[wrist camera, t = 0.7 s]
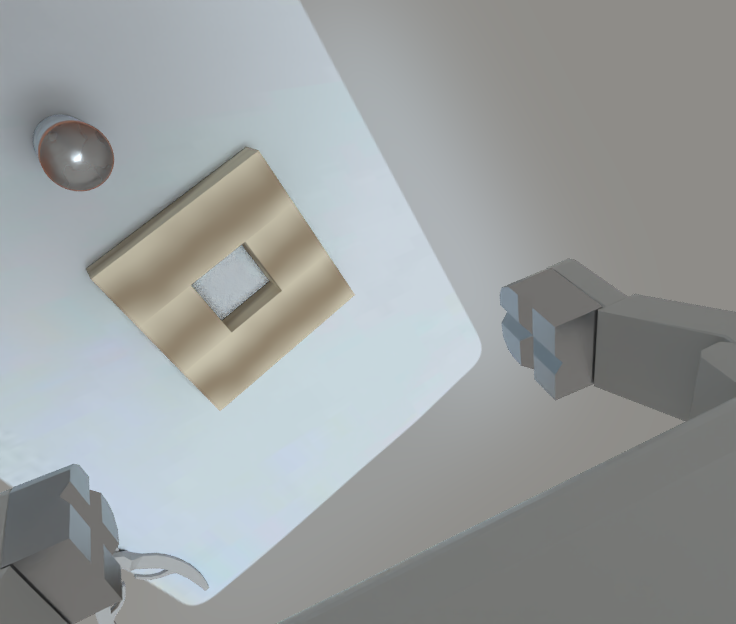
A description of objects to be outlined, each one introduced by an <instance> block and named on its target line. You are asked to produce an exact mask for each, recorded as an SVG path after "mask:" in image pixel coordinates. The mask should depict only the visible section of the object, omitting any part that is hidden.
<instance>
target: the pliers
mask: <svg viewBox="0 0 736 624" xmlns="http://www.w3.org/2000/svg"><path fill="white" fill-rule="evenodd" d="M112 556H113V557H114V558H115V559H116V561H117V562H118V563H119V565H120V566H121V568H122V569H125V570H127V571H132V570H134V569H148V568H161V569H165V570H163V571H161V572H159V573H155V574H151V575H142V574H134V576H135V579H142V580H152V579H157V578H161V577H164V576H166V575H169V574H173V573H178V574H180V575H182V576H184V577H186V578H188V579H190V580H191V581H193V582H194V583H196V584H197V585H199V586H200V587H201V588H202V589H204V590H205V591H206V590H207V589H208V588H209V586H208V584H207V582H206V580H205V579H204V577H203V576H202V574H201V573H200V572H199V571H198V570H197V569H196V568H194V567H193V566H192V565H190V564H189V563H187V562H185V561H183V560H181V559H179V558H177V557H174V556H170V555H167V554H160V553H146V554H140V553H132V552H129V551H127V550H126V551H122V552H120V550H119V548H118V546H117V548H116V550H115V552H114V554H113V555H112ZM121 583H122V599H123V600H122V601H120V602H118V603H115V604H114V605H113V606H112V607H111V608H110V606H109V607H107V608H105V609H103V610H101V611H99V612H97V613H95V614H96V618H97V621H98V623H99V624H116V622H115V620H114V619H115V616H116V615H117V613H118V612H119V610H120V609H121V607H122V605H123V602H124V600H125V593H126V589H125V582H124V581H123V582H121Z"/></svg>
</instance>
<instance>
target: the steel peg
mask: <svg viewBox="0 0 736 624" xmlns="http://www.w3.org/2000/svg"><path fill="white" fill-rule="evenodd" d="M33 146H34V149H35V152H36V154H37V156H38V158H39V161H40V163H41V166H42V168H43V170H44V171H45V173H46V174H47V176H48V177H49V178H50V179H51V180H52V181H53V182H55V183H56V184H57V185H59V186H61V187H63V188H65V189H69V190H73V191H87V190H91V189H94V188H96V187H98V186H100V185H101V184H103V183H104V182H105V181H106V180H107V179H108V177H109V176H110V174H111V172H112V169H113V165H114V154H113V150H112V147H111V145H110V143H109V141H108V140H107V138H106V137H105V136H104V135H103V134H102V133H101V132H100V131H99V130H97V129H96V128H94V127H93V126H91V125H89V124H87V123H84V122H82V121H80V120H78V119H76V118H74V117H71V116H68V115H53V116H50V117H47V118H45V119H44V120H42V121H41V122H40V123H39V124H38V126H37V127H36V129H35V131H34V134H33Z"/></svg>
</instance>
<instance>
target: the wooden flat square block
mask: <svg viewBox="0 0 736 624" xmlns="http://www.w3.org/2000/svg"><path fill="white" fill-rule="evenodd" d="M240 245H242V246H243V247H244V248H245V249H246V251H247V252H248V253H249V255H250V256H251V257H252V259H253V260H254V261H255V263H256V264H257V265H258V267H259V268H260V269H261V271H262V272H263V273H264V274H265V276H266V277H267V278H268V280H269V282H268V283H267V284H266V285H264V286H263V287H262V288H261V289H260V290H258V291H257V292H256V293H255V294H254V295H252V296H251V297H250V298H249V299H248V300H246V301H245V302H244V303H243V304H241V305H240V306H239V307H238V308H237V309H235V310H234V311H233V312H232V313H231V314H229V315H228V316H227V317H226V318H224V319H223V320H222V321H221V320H220V319H219V317H218V316H217V315H216V314H215V313H214V312H213V310H212V309H211V308H210V307H209V306H208V305H207V303H206V302H205V301H204V300H203V299H202V298H201V296H200V295H199V294H198V293H197V292H196V291H195V289H194V288H193V287H192V286H191V285H192V284H193V283H194V282H195V281H197V280H198V279H199V278H200V277H202V276H203V275H204V274H205V273H207V272H208V271H209V270H210V269H212V268H213V267H214V266H215V265H217V264H218V263H219V262H220V261H222V260H223V259H224V258H225V257H227V256H228V255H229V254H230V253H232V252H233V251H234V250H235V249H237V248H238V247H239V246H240ZM87 272H88V274H89V276H90V278H91V280H92V281H93V282H94V283H95V284H96V285H97V286H98V287H99V288H100V289H101V290H102V291H103V292H104V293H105V294H106V295H107V296H108V297H109V298H110V299H111V300H112V301H113V302H114V303H115V304H116V305H117V306H118V307H119V308H120V309H121V310H122V311H123V313H124V314H125V315H126V316H127V317H128V318H129V319H130V320H131V321H132V322H133V323H134V324H135V325H136V326H137V327H138V328H139V329H140V330H141V331H142V332H143V333H144V334H145V335H146V336H147V337H148V338H149V339H150V340H151V341H152V342H153V343H154V344H155V345H156V346H157V347H158V348H159V349H160V350H161V351H162V352H163V353H164V354H165V355H166V356H167V357H168V359H169V360H170V361H171V362H172V363H173V364H174V365H175V366H176V367H177V368H178V369H179V370H180V371H181V372H182V373H183V374H184V375H185V376H186V377H187V378H188V379H189V380H190V381H191V382H192V383H193V384H194V385H195V386H196V387H197V388H198V389H199V390H200V391H201V392H202V393H203V394H204V395H205V396H206V397H207V398H208V399H209V400H210V401H211V402H212V404H213V405H214V406H215V407H216V408H217V409H218V410H219V411H221V410H222V409H223V408H224V407H225V406H227V405H228V404H229V403H230V402H231V401H232V400H234V399H235V398H236V397H237V396H238V395H239V394H241V393H242V392H243V391H244V390H245V389H246V388H248V387H249V386H250V385H251V384H252V383H253V382H255V381H256V380H257V379H258V378H259V377H260V376H261V375H263V374H264V373H265V372H266V371H267V370H268V369H270V368H271V367H272V366H273V365H274V364H275V363H277V362H278V361H279V360H280V359H281V358H282V357H284V356H285V355H286V354H287V353H288V352H289V351H290V350H292V349H293V348H294V347H295V346H296V345H297V344H299V343H300V342H301V341H302V340H303V339H304V338H306V337H307V336H308V335H309V334H310V333H311V332H313V331H314V330H315V329H316V328H317V327H318V326H320V325H321V324H322V323H323V322H324V321H325V320H326V319H328V318H329V317H330V316H331V315H332V314H333V313H335V312H336V311H337V310H338V309H339V308H340V307H342V306H343V305H344V304H345V303H346V302H347V301H349V300H350V299H351V298H352V297H353V296H354V295H355V294H354V293H353V291H352V290H351V288H350V287H349V285H348V284H347V282H346V281H345V279H344V278H343V276H342V275H341V273H340V272H339V270H338V269H337V267H336V266H335V264H334V263H333V261H332V260H331V258H330V257H329V255H328V254H327V252H326V251H325V249H324V248H323V246H322V245H321V243H320V242H319V240H318V239H317V237H316V236H315V234H314V233H313V231H312V230H311V228H310V227H309V225H308V224H307V222H306V221H305V219H304V218H303V216H302V215H301V213H300V212H299V210H298V209H297V207H296V206H295V204H294V203H293V201H292V200H291V198H290V197H289V195H288V194H287V192H286V191H285V189H284V188H283V186H282V185H281V183H280V182H279V180H278V179H277V177H276V176H275V174H274V173H273V171H272V170H271V168H270V167H269V165H268V164H267V162H266V161H265V159H264V158H263V156H262V155H261V153H260V152H259V151H258V150H255V149H251V148H248V147H246V148H244V149H243V150H242V151H240V152H239V153H238V154H236V155H235V156H234V157H232V158H231V159H230V160H228V161H227V162H226V163H224V164H223V165H222V166H221V167H219V168H218V169H217V170H215V171H214V172H213V173H211V174H210V175H209V176H207V177H206V178H205V179H203V180H202V181H201V182H200V183H198V184H197V185H196V186H194V187H193V188H192V189H190V190H189V191H188V192H186V193H185V194H184V195H182V196H181V197H180V198H179V199H177V200H176V201H175V202H173V203H172V204H171V205H169V206H168V207H167V208H165V209H164V210H163V211H161V212H160V213H159V214H158V215H156V216H155V217H154V218H152V219H151V220H150V221H148V222H147V223H146V224H144V225H143V226H142V227H140V228H139V229H138V230H137V231H135V232H134V233H133V234H131V235H130V236H129V237H127V238H126V239H125V240H123V241H122V242H121V243H119V244H118V245H117V246H116V247H114V248H113V249H112V250H110V251H109V252H108V253H106V254H105V255H104V256H102V257H101V258H100V259H98V260H97V261H96V262H95V263H93V264H92V265H91V266H89V267H88V268H87Z"/></svg>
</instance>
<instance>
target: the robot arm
mask: <svg viewBox="0 0 736 624" xmlns="http://www.w3.org/2000/svg"><path fill="white" fill-rule="evenodd" d="M500 305H501V306H502V307H503V308H504V309H505V310H506V311H507V313H506V316H505V317H504V319H503V321H502V331H503V337H504V340H505V342H506V345H507V348H508V350H509V351H510V353H511V354H512V356H513V357H514V358H515V359H516V361H517V362H518V363H519V364H520V365H521V366H525V367H528V368H532V369H534V378H535V380H536V381H537V382H538V383H539V384H540V385H541V386H542V387H543V388H544V390H545V391H546V392H547V393H548V394H550V396H551V397H553V399H554V400H557V399H560V398H562V397H564V396H567V395H569V394H571V393H574V392H576V391H578V390H581V389H583V388H585V387H588V386H590V385H592V384H594V386H595V387H598V388H600V389H603V390H606V391H608V392H611V393H613V394H616V395H618V396H621V397H624V398H626V399H629V400H632V401H634V402H637V403H639V404H642V405H644V406H647V407H650V408H652V409H655V410H657V411H660V412H663V413H665V414H668V415H670V416H673V417H675V418H678V419H681V420H683V421H686V422H684V423H682V424H680V425H678V426H676V427H674V428H672V429H670V430H668V431H666V432H664V433H662V434H660V435H658V436H656V437H654V438H652V439H650V440H648V441H645V442H643V443H641V444H639V445H637V446H635V447H633V448H631V449H629V450H627V451H625V452H623V453H621V454H619V455H617V456H615V457H613V458H611V459H609V460H607V461H605V462H603V463H601V464H599V465H597V466H595V467H593V468H591V469H589V470H587V471H584V472H582V473H580V474H578V475H576V476H574V477H572V478H570V479H568V480H566V481H564V482H562V483H560V484H558V485H556V486H554V487H552V488H550V489H548V490H546V491H544V492H542V493H540V494H538V495H536V496H534V497H532V498H530V499H528V500H526V501H524V502H522V503H520V504H518V505H516V506H514V507H512V508H509V509H508V510H505V511H503V512H501V513H499V514H497V515H495V516H493V517H491V518H489V519H487V520H485V521H483V522H481V523H479V524H477V525H475V526H473V527H471V528H469V529H467V530H465V531H463V532H461V533H459V534H457V535H455V536H453V537H451V538H449V539H447V540H445V541H443V542H441V543H438V544H436V545H434V546H432V547H430V548H428V549H426V550H424V551H422V552H420V553H418V554H416V555H414V556H412V557H410V558H408V559H406V560H404V561H402V562H400V563H398V564H396V565H394V566H392V567H390V568H388V569H386V570H384V571H382V572H380V573H378V574H376V575H373V576H372V577H369V578H367V579H366V580H363V581H361V582H359V583H358V584H355V585H353V586H351V587H349V588H347V589H345V590H343V591H341V592H339V593H337V594H335V595H333V596H331V597H329V598H327V599H325V600H323V601H321V602H319V603H317V604H315V605H313V606H310V607H308V608H306V609H304V610H303V611H300V612H298V613H296V614H294V615H292V616H290V617H288V618H286V619H284V620H282V621H280V622H278V623H276V624H736V312H733V311H728V310H721V309H716V308H711V307H705V306H700V305H694V304H688V303H682V302H677V301H671V300H666V299H660V298H655V297H649V296H643V295H638V294H634V295H631V296H629V297H628V296H626V295H625V294H623V293H622V292H621V291H619V290H618V289H616V288H615V287H614V286H612V285H611V284H609V283H608V282H606V281H605V280H603V279H602V278H601V277H599V276H598V275H596V274H595V273H593V272H592V271H591V270H589V269H588V268H586V267H585V266H583V265H582V264H580V263H579V262H578V261H576V260H574V259H566V260H564V261H562V262H559V263H557V264H555V265H553V266H550V267H548V268H547V269H545V270H543V271H540V272H538V273H535V274H533V275H530V276H528V277H526V278H523V279H521V280H519V281H516V282H514V283H511V284H509V285H507V286H504V287H502V288H501V292H500ZM118 545H119V538H118V529H117V525H116V522H115V518H114V515H113V512H112V510H111V508H110V506H109V504H108V502H107V501H106V499H105V498H104V497H103V495H102V494H101V493H99V492H96V491H92V490H89V476H88V475H87V474H86V473H85V471H84V470H83V469H82V468H81V467H80V465H77V464H72V465H69V466H67V467H64V468H61V469H59V470H56V471H54V472H51V473H49V474H46V475H43V476H41V477H38V478H36V479H33V480H31V481H28V482H25V483H23V484H20V485H18V486H15V487H13V488H12V489H9V490H6V491H4V492H1V493H0V624H75V623H77V622H79V621H80V620H83V619H85V618H87V617H89V616H91V615H93V614H95V613H97V612H99V611H101V610H103V609H105V608H107V607H109V606H111V605H113V604H115V603H118V602H120V601H122V600H123V599H122V583H121V566H120V565H119V563H118V562H117V561H116V559H115V558H114V557H113V556H112V555H113V554H114V552H115V550H116V548H117V546H118Z"/></svg>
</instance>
